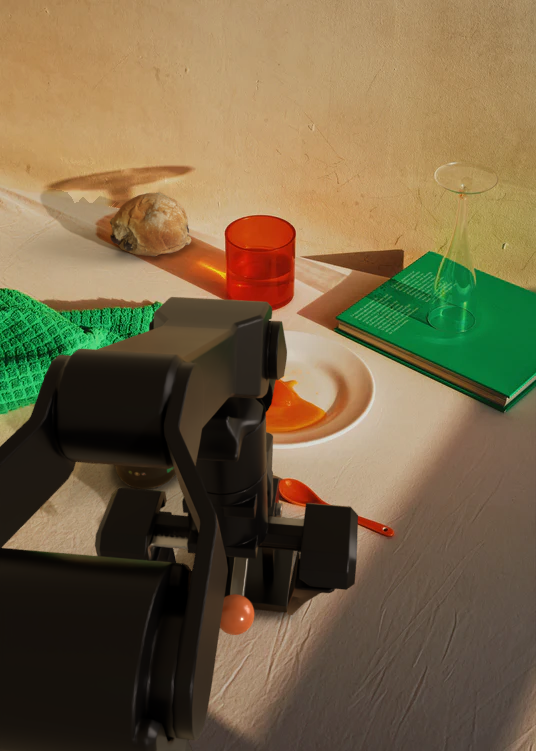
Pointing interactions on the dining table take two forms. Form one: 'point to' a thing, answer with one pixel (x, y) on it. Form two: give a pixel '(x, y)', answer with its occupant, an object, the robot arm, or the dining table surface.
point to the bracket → (267, 570)
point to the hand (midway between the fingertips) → (233, 604)
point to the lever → (237, 602)
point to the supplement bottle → (144, 476)
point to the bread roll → (150, 225)
